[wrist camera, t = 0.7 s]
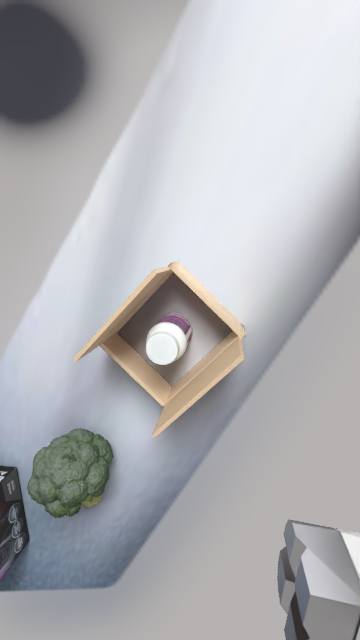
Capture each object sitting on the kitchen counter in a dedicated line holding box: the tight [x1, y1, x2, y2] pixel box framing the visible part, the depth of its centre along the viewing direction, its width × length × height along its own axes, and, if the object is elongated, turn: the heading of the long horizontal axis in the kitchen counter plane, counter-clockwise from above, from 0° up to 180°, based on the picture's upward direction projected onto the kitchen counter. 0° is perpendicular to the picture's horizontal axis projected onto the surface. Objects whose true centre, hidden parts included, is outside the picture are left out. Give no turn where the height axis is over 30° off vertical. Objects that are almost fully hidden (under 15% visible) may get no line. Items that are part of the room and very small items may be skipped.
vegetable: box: [27, 429, 113, 518], centre depth 49 cm, size 12×13×15 cm
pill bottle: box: [146, 313, 192, 365], centre depth 41 cm, size 5×5×10 cm
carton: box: [73, 262, 245, 437], centre depth 40 cm, size 15×13×13 cm
